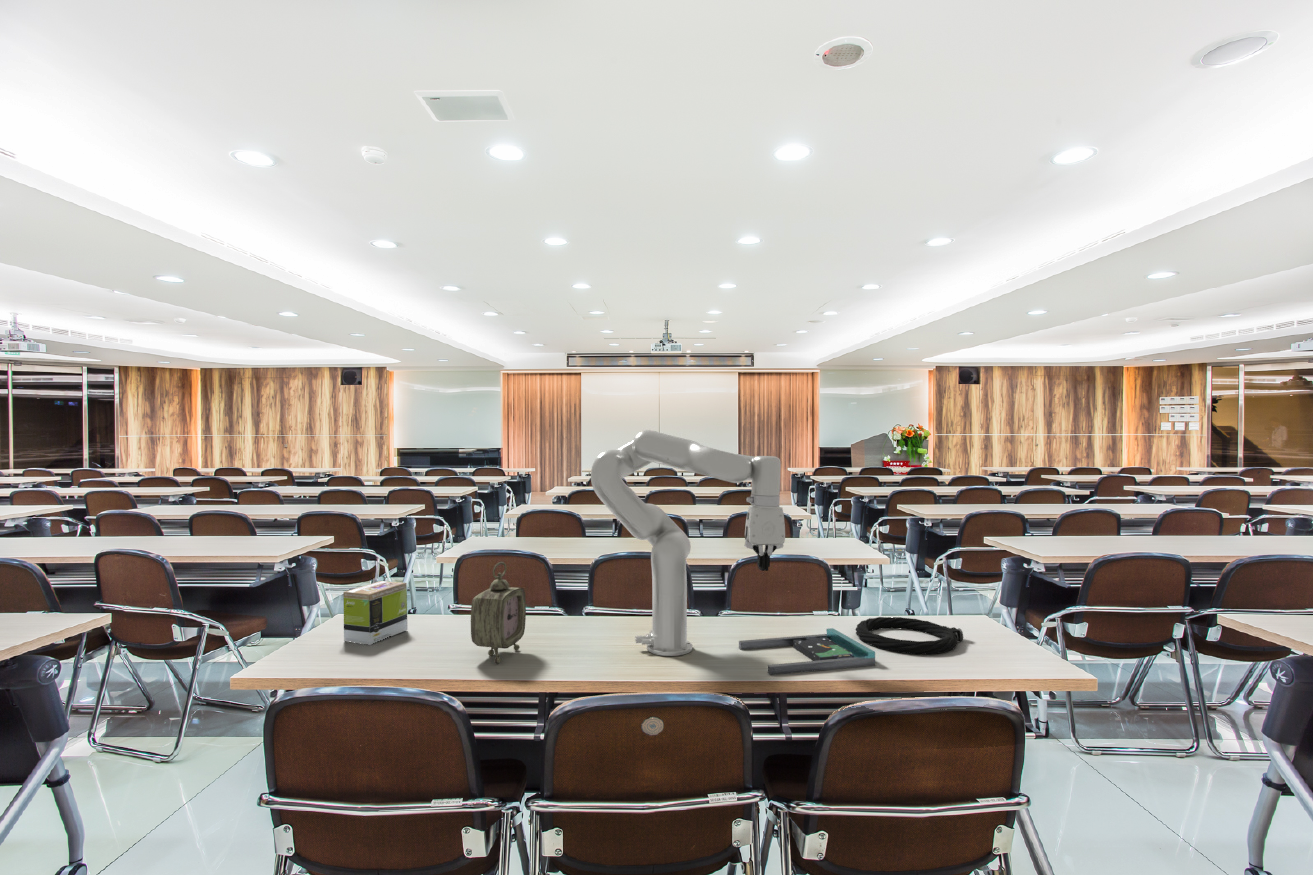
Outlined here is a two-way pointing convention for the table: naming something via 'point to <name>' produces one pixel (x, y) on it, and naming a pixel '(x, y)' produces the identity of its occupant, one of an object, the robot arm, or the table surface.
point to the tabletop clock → (498, 616)
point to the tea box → (375, 612)
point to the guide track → (860, 659)
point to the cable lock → (906, 646)
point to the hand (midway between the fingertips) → (763, 569)
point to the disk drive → (821, 649)
